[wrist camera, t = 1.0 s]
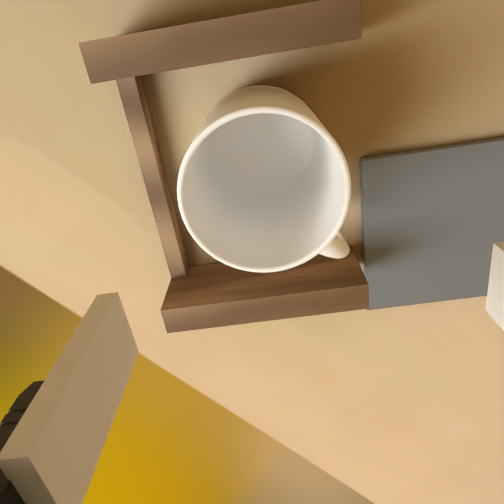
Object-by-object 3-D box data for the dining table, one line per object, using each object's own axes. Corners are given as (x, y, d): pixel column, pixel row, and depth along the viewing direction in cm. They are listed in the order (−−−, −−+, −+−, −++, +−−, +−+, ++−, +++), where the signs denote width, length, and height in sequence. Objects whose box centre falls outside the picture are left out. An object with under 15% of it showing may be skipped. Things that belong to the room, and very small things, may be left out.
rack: (113, 42, 27) (78, 42, 22) (338, 2, 26) (360, -7, 21) (180, 288, 35) (167, 332, 30) (351, 266, 34) (369, 308, 29)
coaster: (359, 157, 30) (362, 160, 30) (545, 130, 29) (552, 132, 29) (364, 304, 36) (367, 310, 35) (519, 285, 35) (525, 290, 35)
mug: (290, 251, 34) (305, 334, 24) (176, 148, 30) (140, 199, 21) (374, 177, 31) (428, 239, 21) (259, 53, 27) (263, 62, 18)
